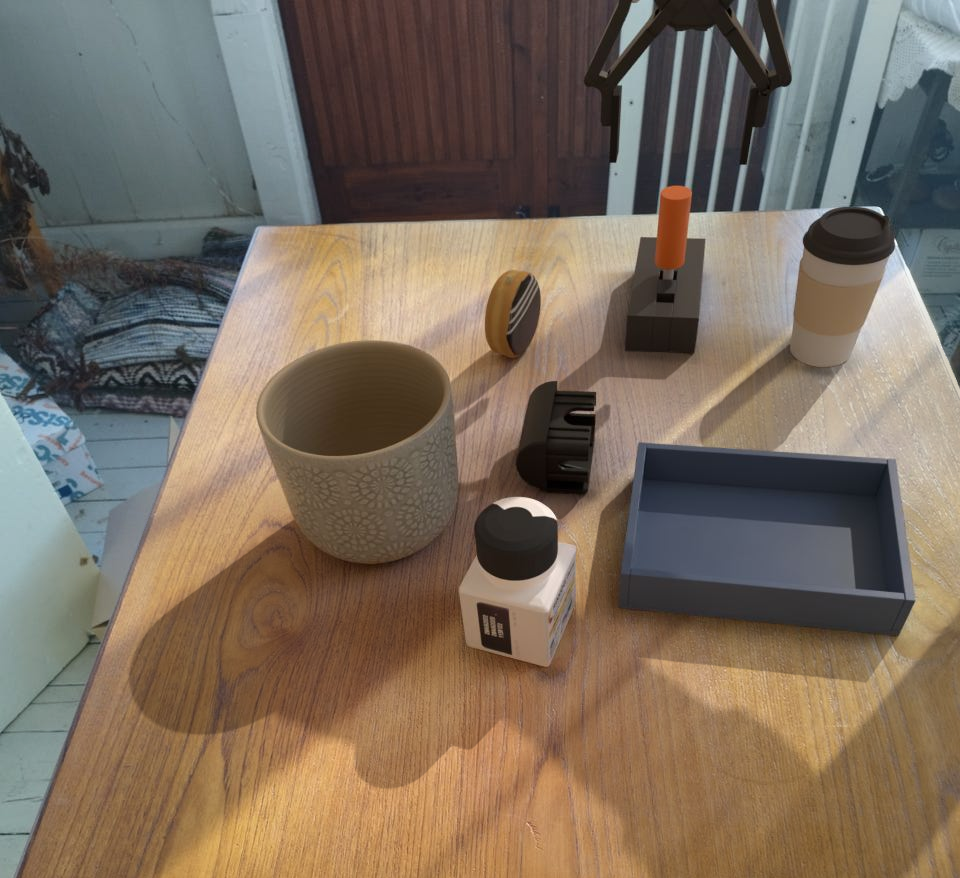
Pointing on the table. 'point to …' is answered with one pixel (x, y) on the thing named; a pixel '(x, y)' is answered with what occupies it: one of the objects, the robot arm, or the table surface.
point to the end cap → (557, 440)
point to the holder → (665, 301)
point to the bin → (768, 538)
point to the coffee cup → (838, 282)
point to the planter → (364, 447)
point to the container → (518, 582)
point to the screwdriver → (672, 229)
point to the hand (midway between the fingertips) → (677, 158)
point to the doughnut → (512, 313)
